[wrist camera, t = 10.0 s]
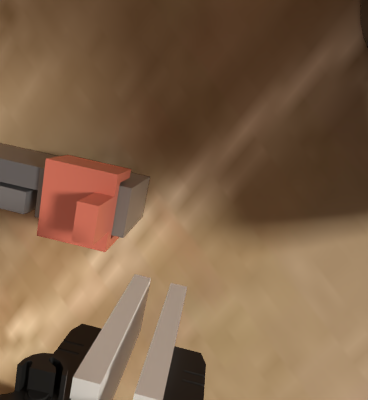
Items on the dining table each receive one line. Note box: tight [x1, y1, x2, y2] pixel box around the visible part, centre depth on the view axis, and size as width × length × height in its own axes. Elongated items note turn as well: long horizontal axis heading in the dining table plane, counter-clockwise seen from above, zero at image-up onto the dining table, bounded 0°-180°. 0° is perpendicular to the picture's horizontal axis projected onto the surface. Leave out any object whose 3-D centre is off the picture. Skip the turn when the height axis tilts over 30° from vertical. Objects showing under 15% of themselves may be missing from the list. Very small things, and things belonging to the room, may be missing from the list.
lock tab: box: [37, 155, 131, 252], centre depth 28 cm, size 6×7×8 cm
